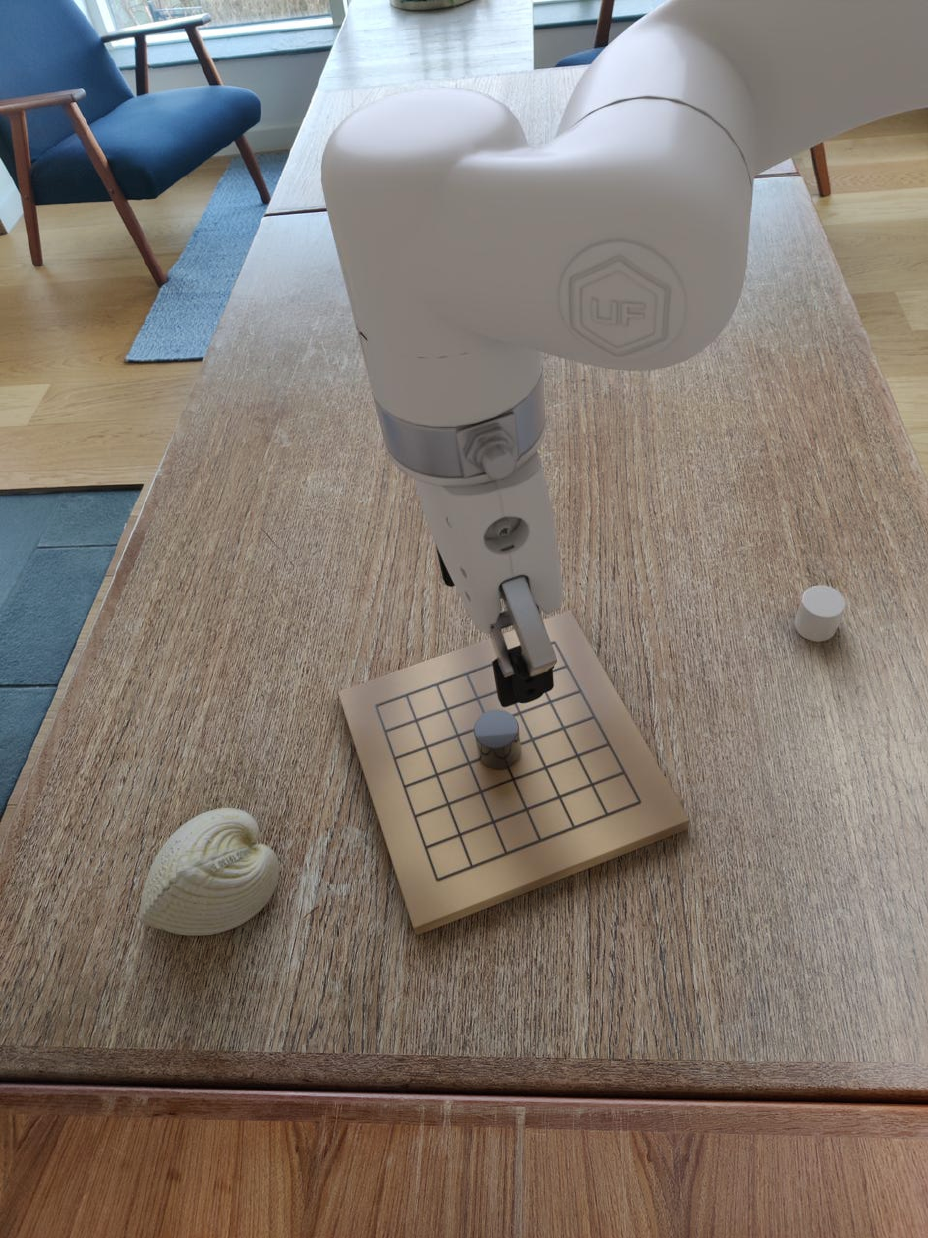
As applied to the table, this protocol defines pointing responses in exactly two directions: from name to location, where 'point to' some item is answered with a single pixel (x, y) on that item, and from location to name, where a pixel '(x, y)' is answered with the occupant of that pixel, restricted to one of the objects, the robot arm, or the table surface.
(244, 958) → the table surface
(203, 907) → the seashell
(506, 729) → the black stone
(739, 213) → the robot arm
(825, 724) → the table surface
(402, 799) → the board
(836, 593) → the grey cylinder
